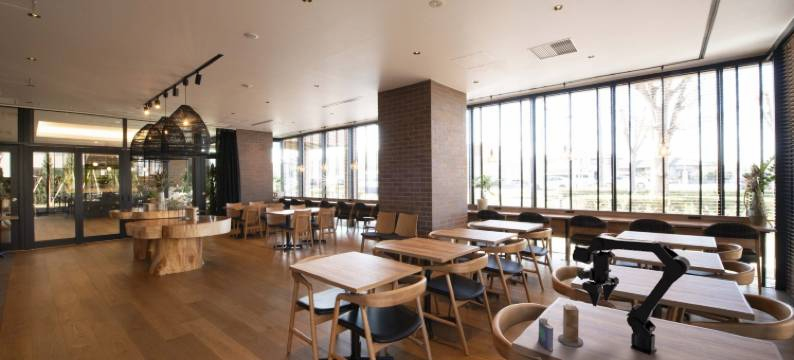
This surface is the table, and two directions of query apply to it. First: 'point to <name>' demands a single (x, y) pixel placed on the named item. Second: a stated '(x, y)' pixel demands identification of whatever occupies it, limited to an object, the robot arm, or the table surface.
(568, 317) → the walnut block
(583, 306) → the table surface
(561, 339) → the slate coaster
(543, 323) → the flask
